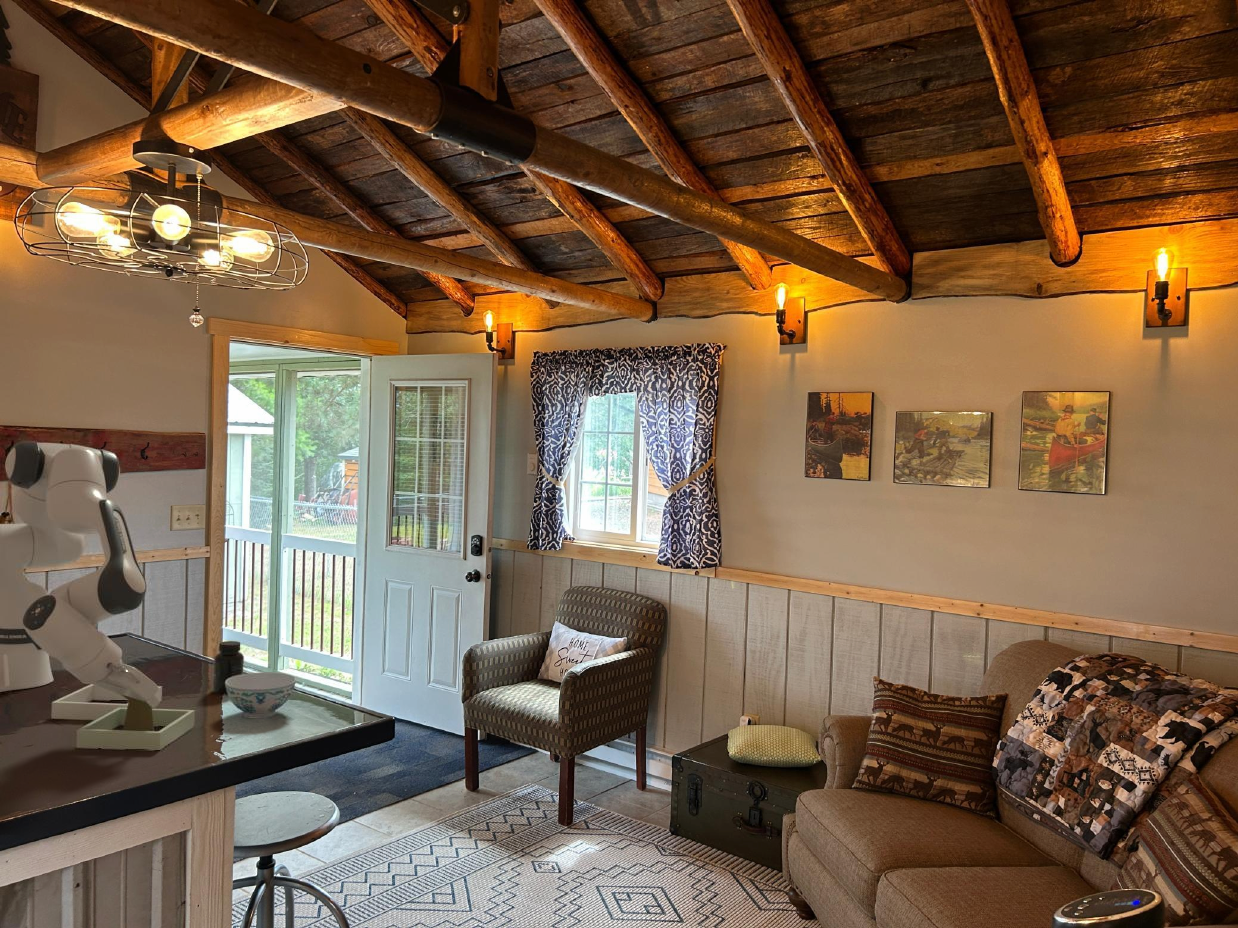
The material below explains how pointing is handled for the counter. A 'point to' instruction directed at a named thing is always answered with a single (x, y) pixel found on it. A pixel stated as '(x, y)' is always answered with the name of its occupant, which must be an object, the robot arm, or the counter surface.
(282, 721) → the counter surface
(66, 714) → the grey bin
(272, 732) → the counter surface
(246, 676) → the chinaware
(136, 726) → the cork
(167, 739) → the sage bin
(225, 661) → the supplement bottle
